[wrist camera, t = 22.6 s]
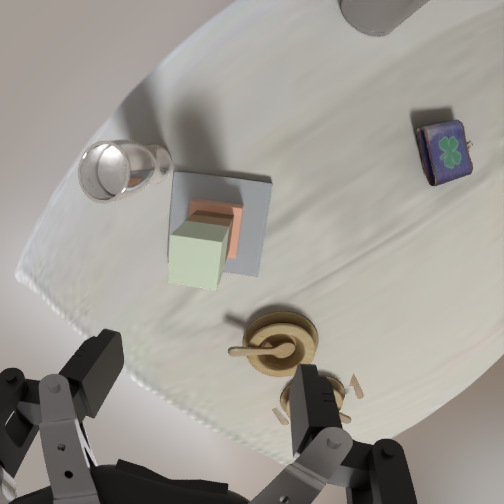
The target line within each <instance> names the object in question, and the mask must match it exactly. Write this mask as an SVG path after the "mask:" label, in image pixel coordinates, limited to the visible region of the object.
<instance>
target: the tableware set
mask: <svg viewBox="0 0 504 504" xmlns="http://www.w3.org/2000/svg"><path fill="white" fill-rule="evenodd" d="M317 347H318V334H317V331H316V329H315V327H314V326H313V324H312V323H311V322H310V321H309V320H308V319H307V318H305V317H303V316H302V315H299V314H297V313H293V312H287V311H279V312H272V313H269V314H266V315H263V316H261V317H259V318H258V319H256V320H255V321H254V322H253V323H252V324H251V325H250V326H249V327H248V329H247V331H246V332H245V335H244V338H243V347H230V348H229V349H228V353H229V355H230V356H247V358H248V359H249V362H250V363H251V365H252V366H253V367H254V368H255V369H256V370H258V371H259V372H261V373H263V374H266V375H269V376H273V377H286V376H292V375H295V372H296V369H297V366H298V364H299V363H301V364H310V363H311V362H312V360H313V358H314V355H315V352H316V350H317ZM326 378H327V379H328V380H329V381H330V383H331V384H332V386H333V390H334V395H335V398H336V402H337V407H338V411H339V410H340V409H341V407H342V404H343V400H344V397H345V390H344V387H343V385H342V384H341V383H340V382H339V381H338V380H336V379H334V378H332V377H328V376H326ZM349 386H354V390H355V392H356V396H357V398H358V399H361V398H363V396H364V395H363V392H362V390H361V388H360V386H359V383H358V381H357V379H356V377H355V375H354V374H353V376H352V379H351V382H350V385H349ZM290 388H291V384H290V385H289V386H288V387H287V388H286V389H285V390H284V391H283V393H282V395H281V399H280V403H281V407H282V408H283V410H284V411H285V412H286V413H287V415H288V417H289V418H290V406H289V393H290ZM272 411H273V412H274V414H275V415H276V416H277V418H278V420H279V421H280V423H281V424H282V425H288V424H289V422H288V420H287V419H286V418H285V417H284V416H283V415H282V414H281V412H280V411H279V410H278V409H277V408H274V409H272ZM339 415H340V419H341V422H343V423H350V422H351V418H350V417H349V416H347V415H345V414H343V413H340V412H339Z"/></svg>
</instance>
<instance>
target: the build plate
mask: <svg viewBox="0 0 504 504" xmlns="http://www.w3.org/2000/svg"><path fill="white" fill-rule="evenodd" d="M271 190H272V183H267V182H261V181H254V180H247V179H239V178H232V177H224V176H216V175H207V174H198V173H189V172H179V171H175V172H174V178H173V189H172V200H171V213H170V228H169V245H168V263H169V247H170V234H172V233H173V232H174V231H175V230H176V229H177V228H178V227H179V226H180V225H181V224H183V223H184V222H185V221H186V219H187V218H188V217H190V216H191V215H192V214H193V213H194V212H195V211H196V210H201V211H208V212H215V213H222V214H229V215H234V220H233V227H232V235H231V243H230V250H229V254H228V257H227V259H226V262H225V266H224V270H223V272H228V273H235V274H241V275H248V276H255V277H258V272H259V266H260V259H261V253H262V247H263V241H264V235H265V228H266V222H267V216H268V209H269V203H270V197H271Z"/></svg>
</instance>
